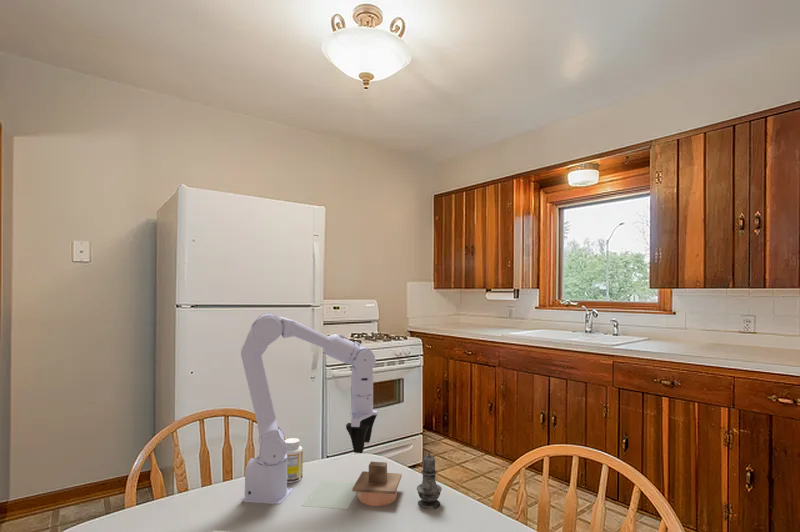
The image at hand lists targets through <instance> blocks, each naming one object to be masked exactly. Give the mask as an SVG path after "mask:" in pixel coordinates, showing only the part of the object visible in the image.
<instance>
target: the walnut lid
mask: <svg viewBox="0 0 800 532" xmlns="http://www.w3.org/2000/svg"><path fill="white" fill-rule="evenodd" d="M402 475H403V474H402V473H394V472H388V462H386V461H385V462H384V461H383V462H382V461H370V463H369V464H368V471H362V472H361V473H360V475H359V477H358V479H357V480H356V481H355V482H356V483H355V485H354V487H353V488H352V491H354V492H357V493H358V492H369V493H384V494H395V493H396V490H397V491H398V488H399V484H400V482H401V480H402Z"/></svg>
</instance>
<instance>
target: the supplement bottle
mask: <svg viewBox="0 0 800 532" xmlns="http://www.w3.org/2000/svg"><path fill="white" fill-rule="evenodd" d="M284 440H285V443H286V446H287V452H286V454H287V484H288V483H289V484H291V483H293V484H294V483H296V482H299V481H301V480H302V479H303V463H304V462H303V457H304V456H303V452H304V451H303V447H302V446H301V443H300V439H299V438H296V437H291V438H286V439H284Z"/></svg>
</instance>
